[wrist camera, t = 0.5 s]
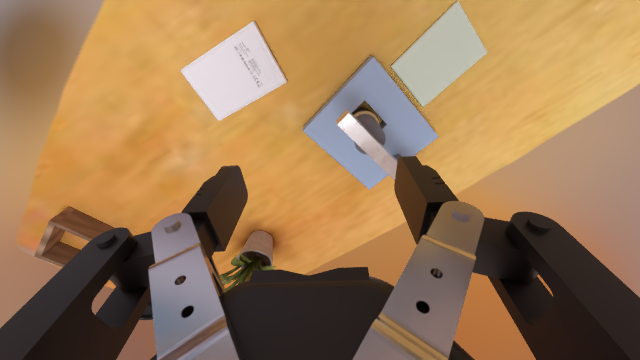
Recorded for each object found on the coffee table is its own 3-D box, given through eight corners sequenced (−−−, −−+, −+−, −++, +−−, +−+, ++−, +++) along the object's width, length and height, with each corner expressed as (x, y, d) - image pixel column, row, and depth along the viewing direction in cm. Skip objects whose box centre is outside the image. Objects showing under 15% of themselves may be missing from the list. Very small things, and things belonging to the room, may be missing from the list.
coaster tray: (69, 206, 46) (49, 220, 43) (140, 240, 51) (127, 254, 48) (53, 241, 51) (34, 256, 48) (118, 268, 57) (105, 283, 53)
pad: (455, 1, 28) (458, 0, 28) (484, 52, 31) (487, 52, 31) (390, 66, 32) (391, 66, 32) (421, 106, 35) (423, 107, 35)
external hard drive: (185, 68, 33) (255, 20, 30) (222, 118, 37) (288, 80, 34) (179, 70, 32) (252, 20, 28) (218, 121, 36) (287, 82, 32)
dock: (370, 55, 31) (386, 62, 24) (433, 132, 37) (460, 156, 30) (303, 126, 37) (299, 149, 30) (367, 183, 43) (377, 214, 36)
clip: (353, 103, 26) (355, 107, 25) (429, 183, 32) (434, 190, 30) (330, 125, 27) (331, 130, 26) (407, 198, 33) (411, 205, 32)
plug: (362, 99, 35) (372, 115, 28) (381, 120, 36) (395, 140, 30) (340, 121, 36) (345, 141, 30) (359, 139, 38) (367, 162, 31)
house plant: (209, 223, 48) (166, 299, 35) (266, 202, 45) (242, 276, 32) (247, 263, 56) (224, 338, 42) (298, 247, 52) (291, 323, 39)
